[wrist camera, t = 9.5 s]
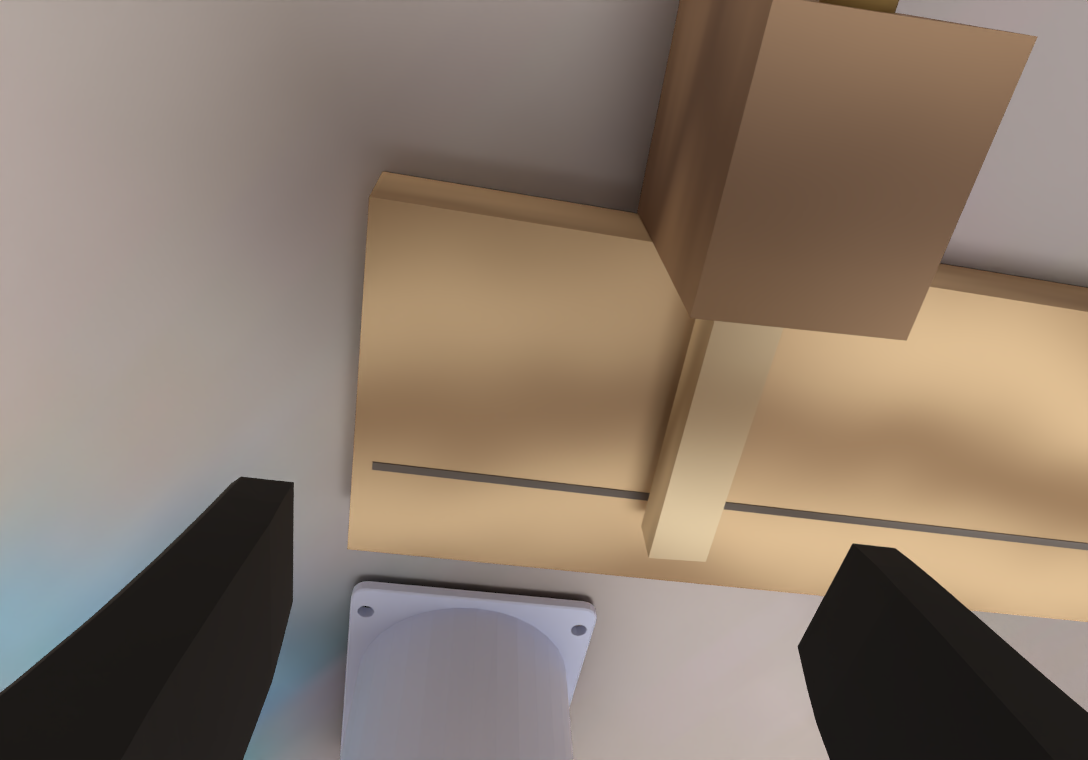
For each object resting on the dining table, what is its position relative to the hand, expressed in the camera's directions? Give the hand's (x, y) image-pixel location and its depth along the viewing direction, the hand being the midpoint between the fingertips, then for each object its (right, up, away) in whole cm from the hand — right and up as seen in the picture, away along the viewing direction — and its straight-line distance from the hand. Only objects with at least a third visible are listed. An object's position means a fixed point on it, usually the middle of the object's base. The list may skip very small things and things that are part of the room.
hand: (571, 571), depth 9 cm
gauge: (+4, +6, +9) cm, 11 cm away
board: (+7, +1, +12) cm, 14 cm away
